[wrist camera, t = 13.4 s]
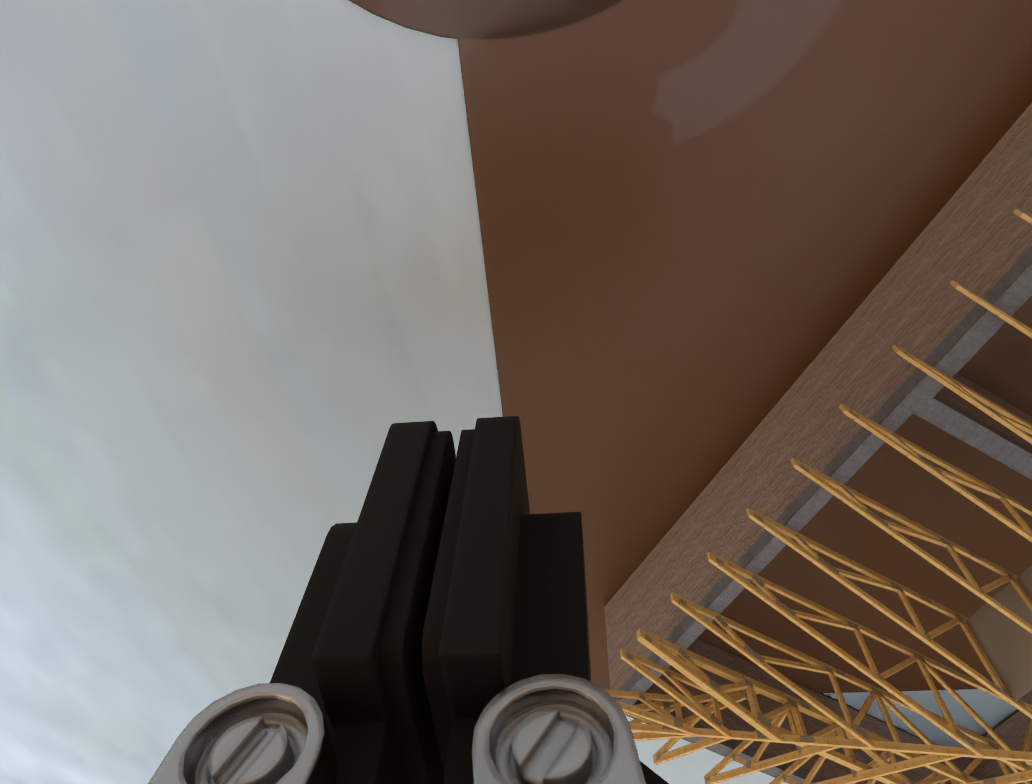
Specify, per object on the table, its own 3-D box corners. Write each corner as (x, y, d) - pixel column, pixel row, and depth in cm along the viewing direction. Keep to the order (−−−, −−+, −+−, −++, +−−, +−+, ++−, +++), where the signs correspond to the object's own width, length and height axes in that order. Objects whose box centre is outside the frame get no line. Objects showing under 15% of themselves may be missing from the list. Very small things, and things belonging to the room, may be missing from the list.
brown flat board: (2235, -1189, 8) (2270, -1212, 8) (1255, 675, 22) (1261, 681, 22) (55, -758, 10) (47, -771, 10) (406, 699, 24) (405, 704, 24)
